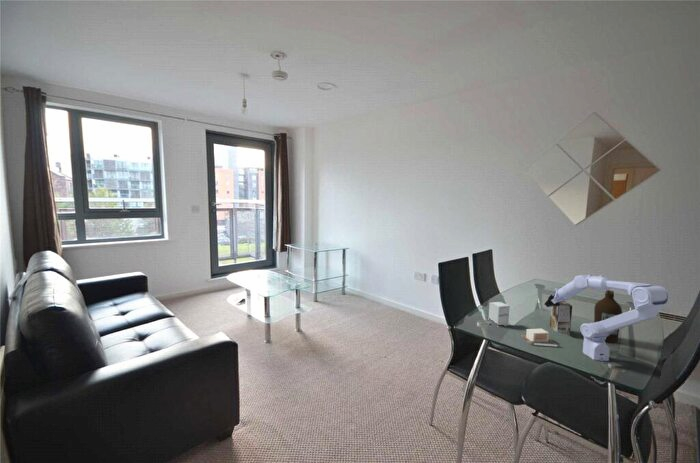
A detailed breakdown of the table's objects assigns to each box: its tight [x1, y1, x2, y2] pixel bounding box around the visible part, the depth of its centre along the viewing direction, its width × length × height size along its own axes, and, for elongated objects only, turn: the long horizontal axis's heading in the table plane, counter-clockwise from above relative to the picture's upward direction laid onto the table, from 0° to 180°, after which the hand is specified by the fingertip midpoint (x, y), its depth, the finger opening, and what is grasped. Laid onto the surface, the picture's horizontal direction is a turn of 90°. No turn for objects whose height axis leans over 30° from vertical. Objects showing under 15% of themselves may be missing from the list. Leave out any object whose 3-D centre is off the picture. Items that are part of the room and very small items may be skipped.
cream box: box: [525, 328, 550, 342], centre depth 149 cm, size 5×8×4 cm, turn 97°
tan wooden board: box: [519, 333, 561, 348], centre depth 148 cm, size 12×13×2 cm
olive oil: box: [593, 289, 623, 344], centre depth 154 cm, size 11×11×25 cm
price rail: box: [530, 341, 561, 348], centre depth 143 cm, size 1×12×2 cm, turn 82°
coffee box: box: [549, 301, 573, 337], centre depth 161 cm, size 9×6×16 cm
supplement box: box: [488, 301, 511, 327], centre depth 169 cm, size 7×7×13 cm
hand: (550, 302), depth 157 cm, fingers open, 7 cm apart
